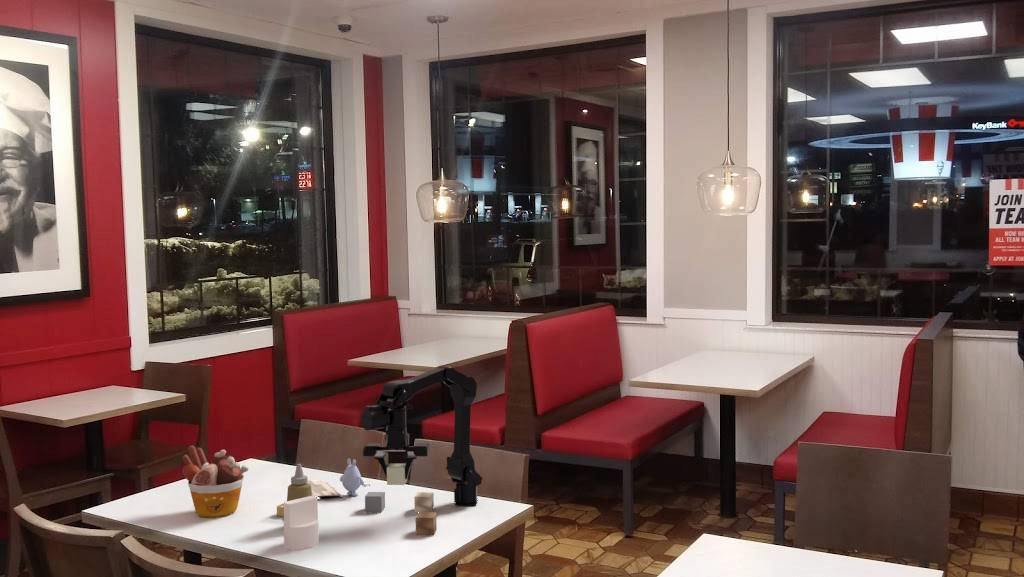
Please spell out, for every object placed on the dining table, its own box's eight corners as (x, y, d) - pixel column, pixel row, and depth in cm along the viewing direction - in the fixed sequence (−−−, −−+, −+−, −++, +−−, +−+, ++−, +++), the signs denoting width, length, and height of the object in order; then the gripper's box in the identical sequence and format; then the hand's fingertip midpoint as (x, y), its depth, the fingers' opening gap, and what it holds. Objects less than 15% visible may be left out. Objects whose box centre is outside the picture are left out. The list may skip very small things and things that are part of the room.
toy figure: (371, 495, 287) (370, 458, 286) (357, 500, 282) (356, 462, 281) (347, 490, 293) (346, 454, 292) (333, 495, 288) (332, 458, 287)
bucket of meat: (259, 508, 273) (258, 444, 272) (222, 524, 258) (220, 455, 257) (209, 502, 281) (207, 439, 281) (169, 516, 266) (167, 450, 265)
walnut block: (436, 530, 251) (436, 512, 251) (433, 535, 246) (433, 517, 246) (418, 529, 251) (418, 512, 251) (415, 535, 246) (415, 517, 246)
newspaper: (290, 488, 300) (291, 480, 300) (326, 487, 305) (327, 480, 305) (304, 504, 279) (305, 496, 279) (342, 503, 284) (343, 495, 284)
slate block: (385, 508, 273) (384, 491, 273) (381, 512, 268) (381, 496, 268) (368, 508, 273) (368, 491, 273) (365, 512, 268) (364, 496, 268)
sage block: (407, 480, 261) (407, 463, 261) (404, 484, 256) (403, 467, 256) (390, 480, 262) (390, 463, 261) (387, 484, 257) (386, 467, 256)
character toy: (293, 509, 261) (271, 507, 263) (293, 520, 261) (271, 518, 264) (309, 502, 268) (287, 500, 271) (309, 513, 268) (287, 510, 271)
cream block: (433, 508, 272) (433, 492, 272) (431, 513, 267) (430, 496, 267) (417, 508, 272) (417, 492, 272) (414, 513, 267) (414, 496, 267)
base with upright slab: (307, 536, 246) (306, 493, 246) (325, 544, 240) (324, 499, 239) (277, 544, 240) (277, 500, 239) (295, 552, 233) (294, 506, 233)
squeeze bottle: (320, 523, 257) (318, 462, 256) (305, 532, 250) (303, 468, 249) (296, 521, 260) (294, 460, 259) (280, 529, 252) (278, 466, 251)
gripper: (432, 420, 266) (433, 472, 266) (370, 420, 267) (371, 472, 268) (426, 427, 255) (427, 481, 255) (362, 427, 256) (363, 481, 256)
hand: (397, 478), depth 259 cm, fingers closed on sage block, 5 cm apart
